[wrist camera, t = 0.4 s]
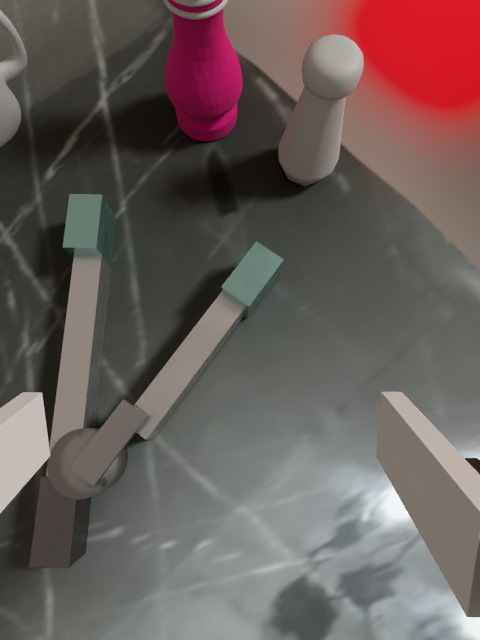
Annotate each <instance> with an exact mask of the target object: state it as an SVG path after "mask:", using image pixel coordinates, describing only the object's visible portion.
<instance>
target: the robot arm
mask: <svg viewBox="0 0 480 640" xmlns="http://www.w3.org/2000/svg"><path fill="white" fill-rule="evenodd" d="M49 457H50V449H49V441H48V433H47V426H46V418H45V411H44V403H43V396H42V392H23V393H21V394H20V395H18V396H17V397H16V398H14V399H13V400H11V401H10V402H9V403H7V404H6V405H5V406H3V407H2V408H0V513H1V512H2V511H3V510H4V508H5V507H6V506H7V505H8V504H9V503H10V502H11V500H12V499H13V498H14V497H15V496H16V495H17V494H18V492H19V491H20V490H21V489H22V488H23V487H24V486H25V484H26V483H27V482H28V481H29V480H30V479H31V478H32V476H33V475H34V474H35V473H36V472H37V471H38V470H39V468H40V467H41V466H42V465H43V464H44V463H45V461H46V460H47V459H48V458H49ZM376 457H377V458H378V460H379V462H380V464H381V465H382V467H383V469H384V471H385V472H386V474H387V476H388V478H389V480H390V481H391V483H392V485H393V487H394V488H395V490H396V492H397V494H398V495H399V497H400V499H401V501H402V503H403V504H404V506H405V508H406V510H407V511H408V513H409V515H410V517H411V518H412V520H413V522H414V524H415V525H416V527H417V529H418V531H419V533H420V534H421V536H422V538H423V540H424V541H425V543H426V545H427V547H428V548H429V550H430V552H431V554H432V555H433V557H434V559H435V561H436V563H437V564H438V566H439V568H440V570H441V571H442V573H443V575H444V577H445V578H446V580H447V582H448V584H449V586H450V587H451V589H452V591H453V593H454V594H455V596H456V598H457V600H458V601H459V603H460V605H461V607H462V608H463V610H464V612H465V614H466V616H467V617H480V460H479V459H477V458H464V457H463V456H462V455H461V454H460V453H459V452H458V451H457V450H456V449H455V448H454V447H453V446H452V445H451V444H450V443H449V442H448V440H447V439H446V438H445V437H444V436H443V435H442V434H441V433H440V432H439V431H438V430H437V429H436V428H435V427H434V426H433V425H432V424H431V422H430V421H429V420H428V419H427V418H426V417H425V416H424V415H423V414H422V413H421V412H420V411H419V410H418V409H417V408H416V407H415V406H414V405H413V403H412V402H411V401H410V400H409V399H408V398H407V397H406V396H405V395H404V394H403V393H402V392H381V404H380V417H379V430H378V443H377V456H376Z"/></svg>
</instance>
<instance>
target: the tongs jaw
mask: <svg viewBox="0 0 480 640" xmlns="http://www.w3.org/2000/svg"><path fill="white" fill-rule="evenodd" d="M283 261H284V259H282V258H281V257H279V256H278V255H276V254H275V253H273V252H272V251H270V250H269V249H267V248H266V247H264V246H263V245H261V244H260V243H258V242H257V241H256V242H255V244H254V245H253V246H252V248H251V249H250V250H249V252H248V253H247V254H246V255H245V257H244V258H243V259H242V261H241V262H240V263H239V264H238V266H237V267H236V268H235V270H234V271H233V272H232V274H231V275H230V276H229V277H228V279H227V280H226V281H225V283H224V284H223V285H222V286H221V293H220V294H219V296H218V297H217V298H216V300H215V301H214V302H213V303H212V305H211V306H210V307H209V309H208V310H207V311H206V313H205V314H204V315H203V316H202V318H201V319H200V320H199V322H198V323H197V324H196V326H195V327H194V328H193V329H192V331H191V332H190V333H189V335H188V336H187V337H186V338H185V340H184V341H183V342H182V344H181V345H180V346H179V348H178V349H177V350H176V351H175V353H174V354H173V355H172V357H171V358H170V359H169V361H168V362H167V363H166V364H165V366H164V367H163V368H162V370H161V371H160V372H159V374H158V375H157V376H156V377H155V379H154V380H153V381H152V383H151V384H150V385H149V387H148V388H147V389H146V390H145V392H144V393H143V394H142V396H141V397H140V398H139V399H138V401H137V402H136V403H135V405H134V406H133V405H132V404H131V403H130V402H128V401H127V400H126V399H123V400H122V401H121V403H120V404H119V405H118V407H117V408H116V409H115V410H114V412H113V413H112V414H111V416H110V417H109V418H108V419H107V421H106V422H105V423H104V424H103V426H102V427H101V428H100V430H99V431H98V432H97V433H96V435H95V436H94V437H93V439H92V440H91V441H90V442H89V444H88V445H87V446H86V448H85V449H84V450H83V451H82V453H81V454H80V455H79V457H78V458H77V459H76V460H75V462H74V463H73V464H72V465H71V467H70V468H71V469H72V470H74V471H75V472H76V473H77V474H78V475H80V476H81V477H82V478H83V479H85V480H86V481H87V482H88V483H89V484H91V485H92V486H95V485H96V484H97V483H98V482H99V480H100V479H101V478H102V476H103V475H104V474H105V473H106V471H107V470H108V469H109V467H110V466H111V465H112V463H113V462H114V461H115V459H116V458H117V457H118V455H119V454H120V453H121V451H122V450H123V449H124V447H125V446H126V445H127V443H128V442H129V441H130V439H131V438H132V437H133V435H134V434H135V433H138V434H139V435H140V436H141V437H143V438H144V439H145V440H149V439H153V438H154V437H155V436H156V434H157V433H158V432H159V430H160V429H161V428H162V426H163V425H164V423H165V422H166V421H167V419H168V418H169V417H170V415H171V414H172V413H173V411H174V410H175V409H176V407H177V406H178V405H179V403H180V402H181V401H182V399H183V398H184V397H185V395H186V394H187V392H188V391H189V390H190V388H191V387H192V386H193V384H194V383H195V382H196V380H197V379H198V378H199V376H200V375H201V374H202V372H203V371H204V370H205V368H206V367H207V366H208V364H209V363H210V361H211V360H212V359H213V357H214V356H215V355H216V353H217V352H218V351H219V349H220V348H221V347H222V345H223V344H224V343H225V341H226V340H227V339H228V337H229V336H230V335H231V333H232V332H233V330H234V329H235V328H236V326H237V325H238V324H239V322H240V321H241V320H242V318H243V317H245V318H247V319H248V318H249V316H250V315H251V314H252V312H253V311H254V310H255V308H256V307H257V305H258V304H259V303H260V301H261V300H262V299H263V297H264V296H265V295H266V293H267V292H268V291H269V289H270V288H271V286H272V285H273V284H274V282H275V281H276V280H277V278H278V277H279V274H280V271H281V268H282V264H283Z"/></svg>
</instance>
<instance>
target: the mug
mask: <svg viewBox="0 0 480 640" xmlns="http://www.w3.org/2000/svg"><path fill="white" fill-rule="evenodd" d="M0 27H1V28H2V29H3V30H4V31H5V33H6V34H7V36H8V37H9V39H10V42H11V45H12V51H13V52H12V55H11V56H10V57H9V58H8V59H6V60H4V61H2V62H0V148H1V147H2V146H4V145H5V144H7V143H8V142H9V141H10V140H11V139H12V138H13V136H14V135H15V134H16V132H17V130H18V128H19V125H20V122H21V110H20V106H19V104H18V101H17V100H16V98H15V96H14V95H13V93H12V92H11V90H10V89H9V88H8V86H7V85H6V84H7V83H8V82H9V81H11V80H13V79H15V78H16V77H18V76H19V75H20V74H22V73H23V72H24V70H25V69H26V66H27V54H26V50H25V47H24V45H23V42H22V40H21V38H20V36H19V34H18V32H17V31H16V29H15V28H14V26H13V24H12V23H11V22H10V20H9V19H8V18H7V17H6V15H5V14H4V13H3V12H2V11H1V10H0Z"/></svg>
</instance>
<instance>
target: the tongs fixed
mask: <svg viewBox="0 0 480 640" xmlns="http://www.w3.org/2000/svg"><path fill="white" fill-rule="evenodd" d="M115 228H116V217H115V216H114V214H113V212H112V210H111V209H110V207H109V205H108V204H107V202H106V200H105V199H104V197H103V195H93V194H70V196H69V203H68V211H67V218H66V226H65V233H64V240H63V248H64V249H65V250H66V251H67V252H68V253H69V254H70V255H71V256H72V257H73V258H74V259H73V267H72V274H71V282H70V290H69V298H68V306H67V314H66V322H65V330H64V338H63V346H62V353H61V361H60V369H59V377H58V385H57V393H56V401H55V409H54V417H53V425H52V433H51V440H50V448H49V449H50V457H49V458H48V463H47V472H46V475H44V476H41V479H40V487H39V494H38V502H37V510H36V518H35V525H34V533H33V541H32V548H31V556H30V564H29V567H44V568H69V567H70V566H71V565H73V564H74V563H75V562H76V561H77V560H78V559H79V558H80V557H82V556H83V555H84V554H85V553H86V544H87V533H88V523H89V513H90V503H91V497H92V496H94V495H96V494H98V493H99V492H101V491H103V490H105V489H107V488H109V487H111V486H112V485H114V484H115V483H116V482H117V481H118V480H119V479H120V477H121V476H122V474H123V473H124V471H125V468H126V465H127V459H128V454H127V448H126V446H125V447H124V449H123V450H122V451H121V453H120V454H119V455H118V457H117V458H116V459H115V461H114V462H113V463H112V465H111V466H110V467H109V469H108V470H107V471H106V473H105V474H104V475H103V476H102V478H101V479H100V480H99V482H98V483H97V484H96V485H95V486H92V485H91V484H89V483H88V482H87V481H86V480H85V479H83V478H82V477H81V476H80V475H78V474H77V473H76V472H75V471H74V470H72V469H71V468H70V467H71V465H72V464H73V463H74V462H75V460H76V459H77V458H78V457H79V455H80V454H81V453H82V451H83V450H84V449H85V448H86V446H87V445H88V444H89V442H90V441H91V440H92V439H93V437H94V436H95V435H96V433H97V432H98V431H99V430H100V428H96V418H97V408H98V398H99V388H100V378H101V368H102V358H103V348H104V338H105V328H106V318H107V308H108V298H109V288H110V278H111V268H112V258H113V248H114V238H115Z"/></svg>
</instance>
